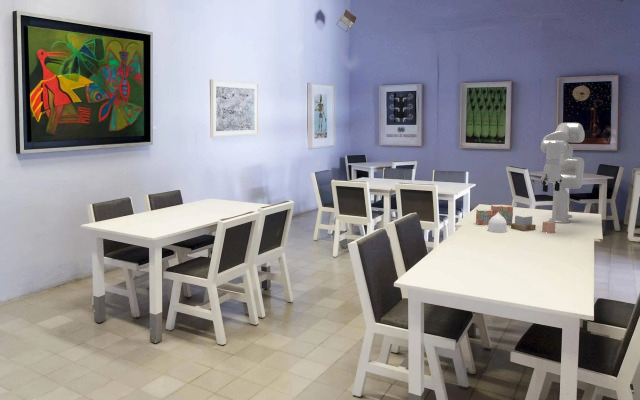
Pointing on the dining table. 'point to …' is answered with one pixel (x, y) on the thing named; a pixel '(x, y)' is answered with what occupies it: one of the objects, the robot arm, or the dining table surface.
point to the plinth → (523, 227)
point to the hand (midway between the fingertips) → (551, 191)
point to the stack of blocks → (487, 214)
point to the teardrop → (497, 224)
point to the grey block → (523, 220)
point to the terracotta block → (548, 227)
